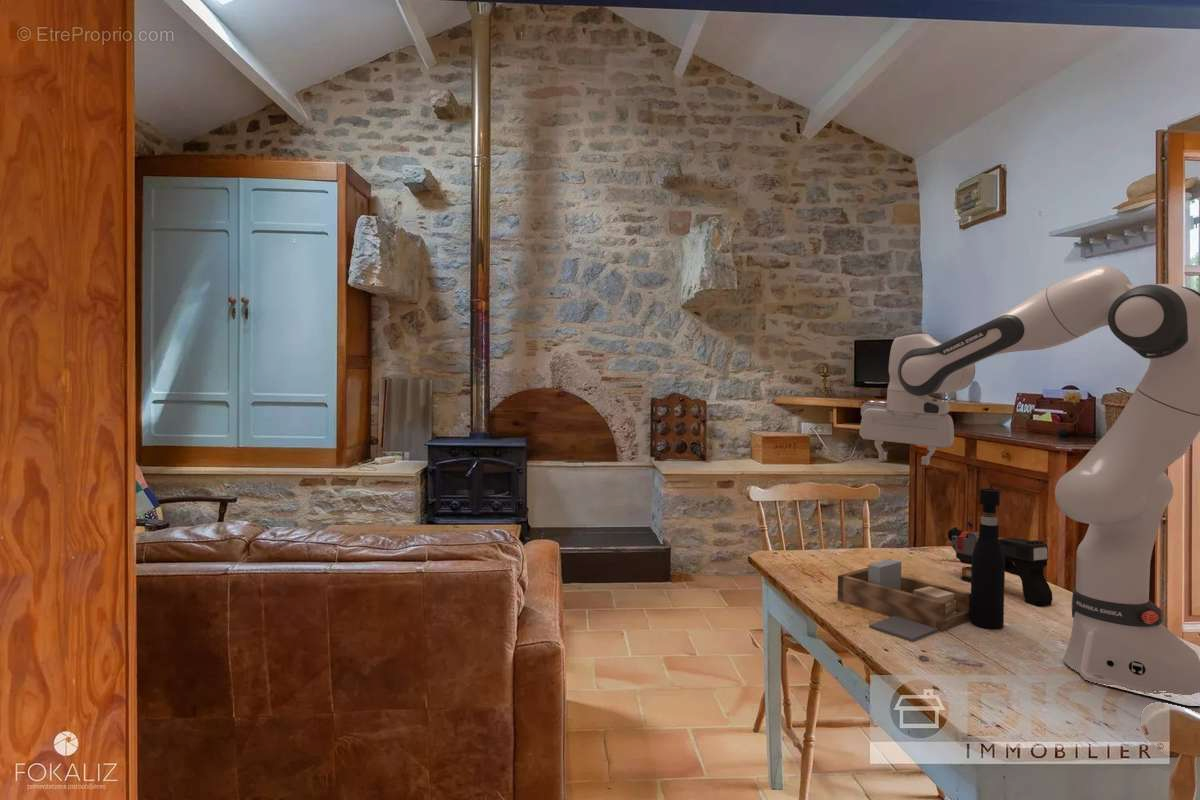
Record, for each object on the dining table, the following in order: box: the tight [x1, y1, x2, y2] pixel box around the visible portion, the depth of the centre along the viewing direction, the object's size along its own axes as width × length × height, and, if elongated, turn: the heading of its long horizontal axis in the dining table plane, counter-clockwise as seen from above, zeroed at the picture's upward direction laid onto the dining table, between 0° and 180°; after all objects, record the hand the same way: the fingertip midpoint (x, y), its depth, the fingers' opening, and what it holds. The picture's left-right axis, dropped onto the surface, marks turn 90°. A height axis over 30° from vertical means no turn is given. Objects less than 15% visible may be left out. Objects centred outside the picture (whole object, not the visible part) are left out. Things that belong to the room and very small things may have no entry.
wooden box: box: [837, 567, 971, 632], centre depth 164 cm, size 26×13×6 cm, turn 36°
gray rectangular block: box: [867, 558, 902, 591], centre depth 168 cm, size 3×9×10 cm, turn 126°
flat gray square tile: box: [868, 616, 939, 642], centre depth 151 cm, size 10×10×1 cm
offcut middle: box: [945, 600, 956, 617], centre depth 158 cm, size 7×7×2 cm
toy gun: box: [947, 526, 1054, 607], centre depth 180 cm, size 6×28×15 cm, turn 18°
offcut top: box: [913, 586, 954, 604], centre depth 158 cm, size 6×6×2 cm
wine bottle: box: [969, 488, 1006, 631], centre depth 154 cm, size 6×6×30 cm
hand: (903, 461), depth 163 cm, fingers open, 8 cm apart
